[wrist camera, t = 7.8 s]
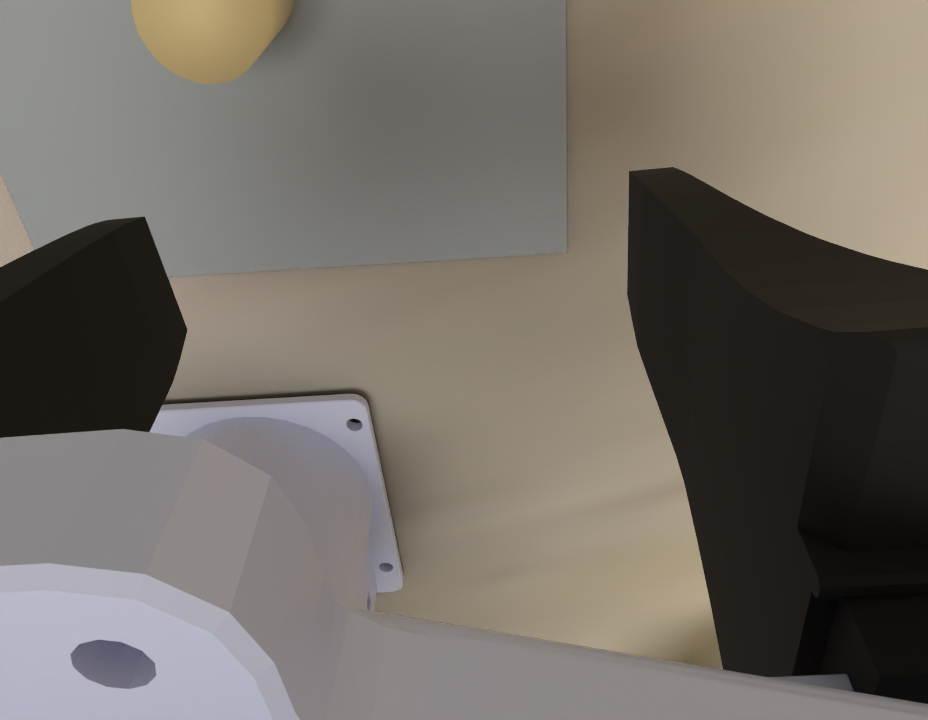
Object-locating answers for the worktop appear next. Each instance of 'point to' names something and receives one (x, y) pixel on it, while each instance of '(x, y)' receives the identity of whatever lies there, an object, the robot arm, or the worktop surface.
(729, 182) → the worktop surface
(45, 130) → the lid
